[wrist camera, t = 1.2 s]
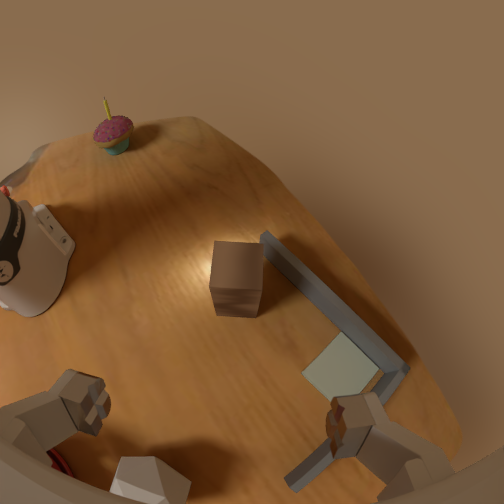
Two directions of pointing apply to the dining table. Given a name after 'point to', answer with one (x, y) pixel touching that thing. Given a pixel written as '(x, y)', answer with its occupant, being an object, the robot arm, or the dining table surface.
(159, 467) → the die
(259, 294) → the walnut block
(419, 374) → the dining table surface
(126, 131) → the cupcake
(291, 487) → the grey l-shaped bracket
